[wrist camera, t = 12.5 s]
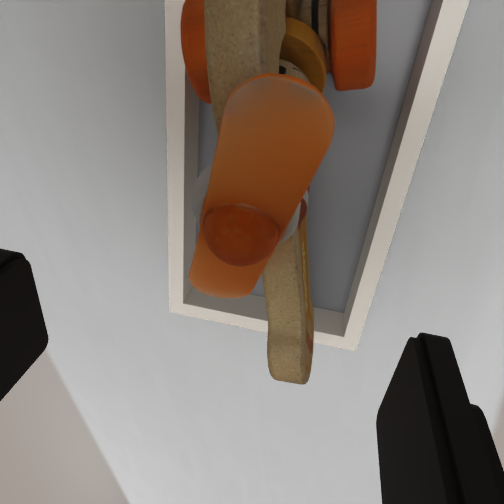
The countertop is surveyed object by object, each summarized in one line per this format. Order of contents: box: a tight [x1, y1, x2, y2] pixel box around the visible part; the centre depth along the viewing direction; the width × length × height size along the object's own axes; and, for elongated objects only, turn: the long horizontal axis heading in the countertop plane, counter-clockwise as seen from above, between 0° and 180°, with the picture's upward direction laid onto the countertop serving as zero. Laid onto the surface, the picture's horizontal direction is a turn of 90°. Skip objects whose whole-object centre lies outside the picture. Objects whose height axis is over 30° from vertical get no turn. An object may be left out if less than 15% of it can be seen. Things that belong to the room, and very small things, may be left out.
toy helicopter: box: [180, 0, 377, 384], centre depth 18 cm, size 8×21×14 cm, turn 7°
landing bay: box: [165, 0, 470, 351], centre depth 23 cm, size 23×13×4 cm, turn 174°
